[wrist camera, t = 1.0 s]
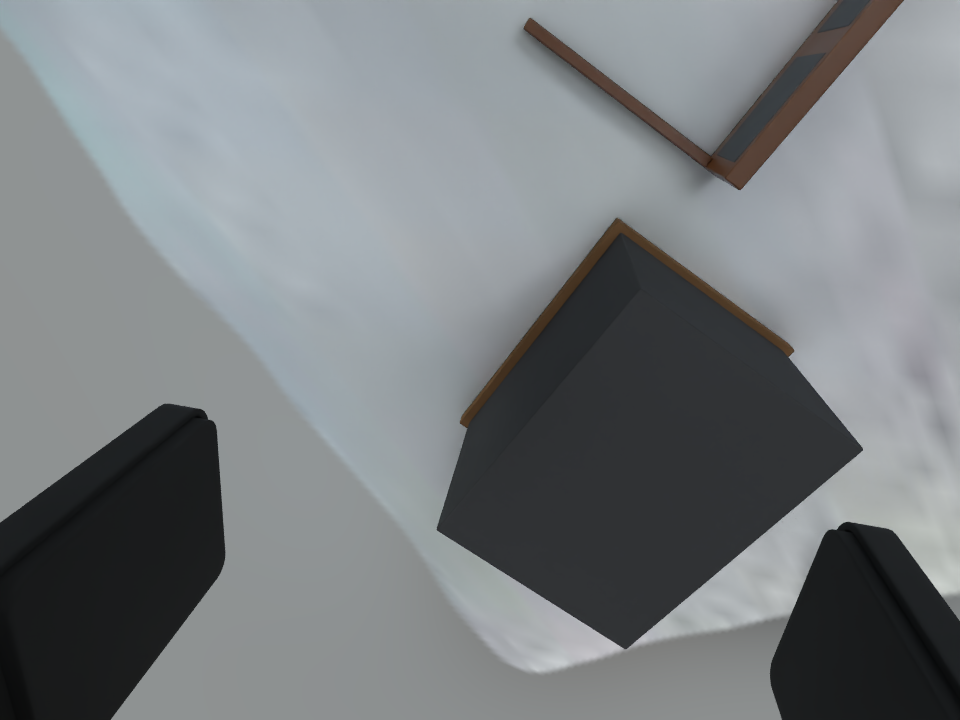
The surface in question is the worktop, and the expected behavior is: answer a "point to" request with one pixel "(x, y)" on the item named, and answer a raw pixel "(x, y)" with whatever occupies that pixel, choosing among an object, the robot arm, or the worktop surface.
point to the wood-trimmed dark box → (636, 442)
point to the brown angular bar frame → (781, 103)
